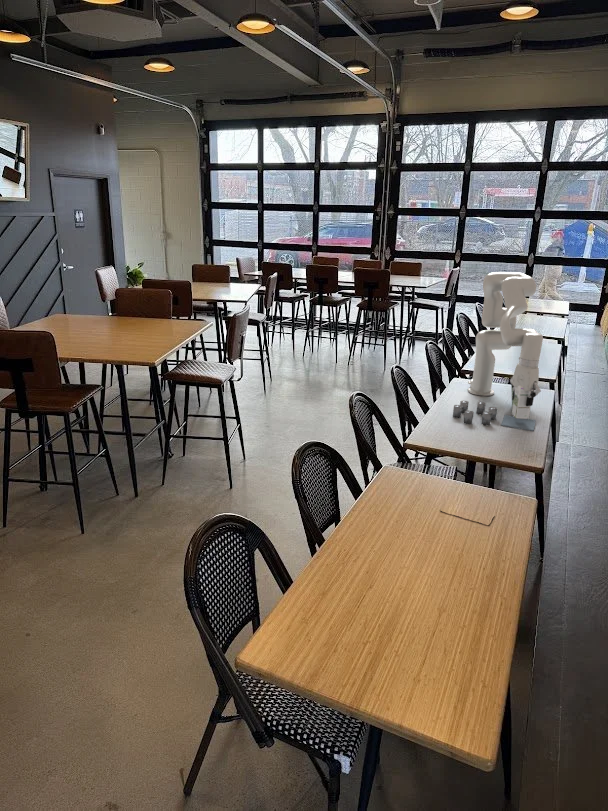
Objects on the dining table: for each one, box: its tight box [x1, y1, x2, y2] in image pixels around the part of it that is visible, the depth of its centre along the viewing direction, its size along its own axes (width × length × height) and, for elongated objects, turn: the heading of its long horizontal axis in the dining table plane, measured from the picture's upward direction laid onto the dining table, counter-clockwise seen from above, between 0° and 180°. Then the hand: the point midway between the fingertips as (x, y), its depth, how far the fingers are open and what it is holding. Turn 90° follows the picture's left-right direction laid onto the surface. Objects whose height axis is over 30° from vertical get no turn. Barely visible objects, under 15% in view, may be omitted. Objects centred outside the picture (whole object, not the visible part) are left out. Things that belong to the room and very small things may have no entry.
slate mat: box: [500, 414, 537, 432], centre depth 234 cm, size 13×13×1 cm
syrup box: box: [511, 385, 533, 419], centre depth 231 cm, size 6×6×14 cm
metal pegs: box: [452, 400, 499, 426], centre depth 239 cm, size 19×17×5 cm
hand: (522, 402), depth 231 cm, fingers closed on syrup box, 7 cm apart
